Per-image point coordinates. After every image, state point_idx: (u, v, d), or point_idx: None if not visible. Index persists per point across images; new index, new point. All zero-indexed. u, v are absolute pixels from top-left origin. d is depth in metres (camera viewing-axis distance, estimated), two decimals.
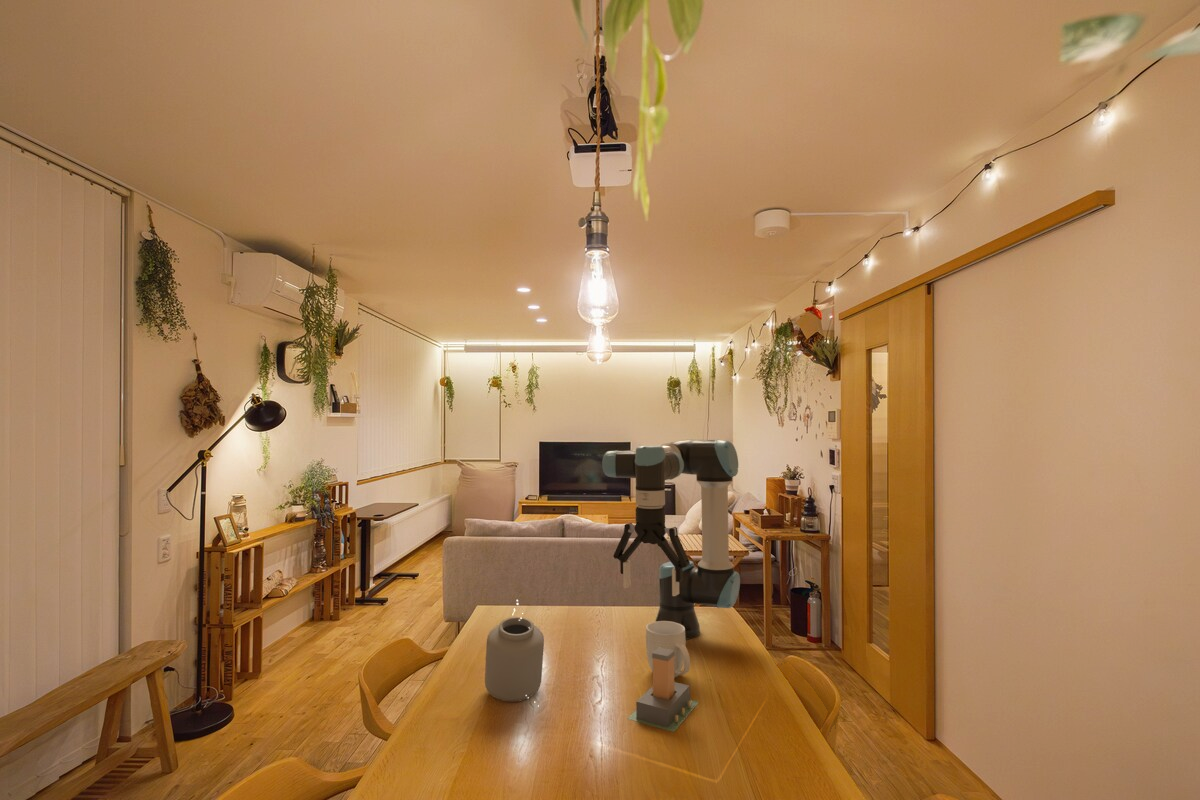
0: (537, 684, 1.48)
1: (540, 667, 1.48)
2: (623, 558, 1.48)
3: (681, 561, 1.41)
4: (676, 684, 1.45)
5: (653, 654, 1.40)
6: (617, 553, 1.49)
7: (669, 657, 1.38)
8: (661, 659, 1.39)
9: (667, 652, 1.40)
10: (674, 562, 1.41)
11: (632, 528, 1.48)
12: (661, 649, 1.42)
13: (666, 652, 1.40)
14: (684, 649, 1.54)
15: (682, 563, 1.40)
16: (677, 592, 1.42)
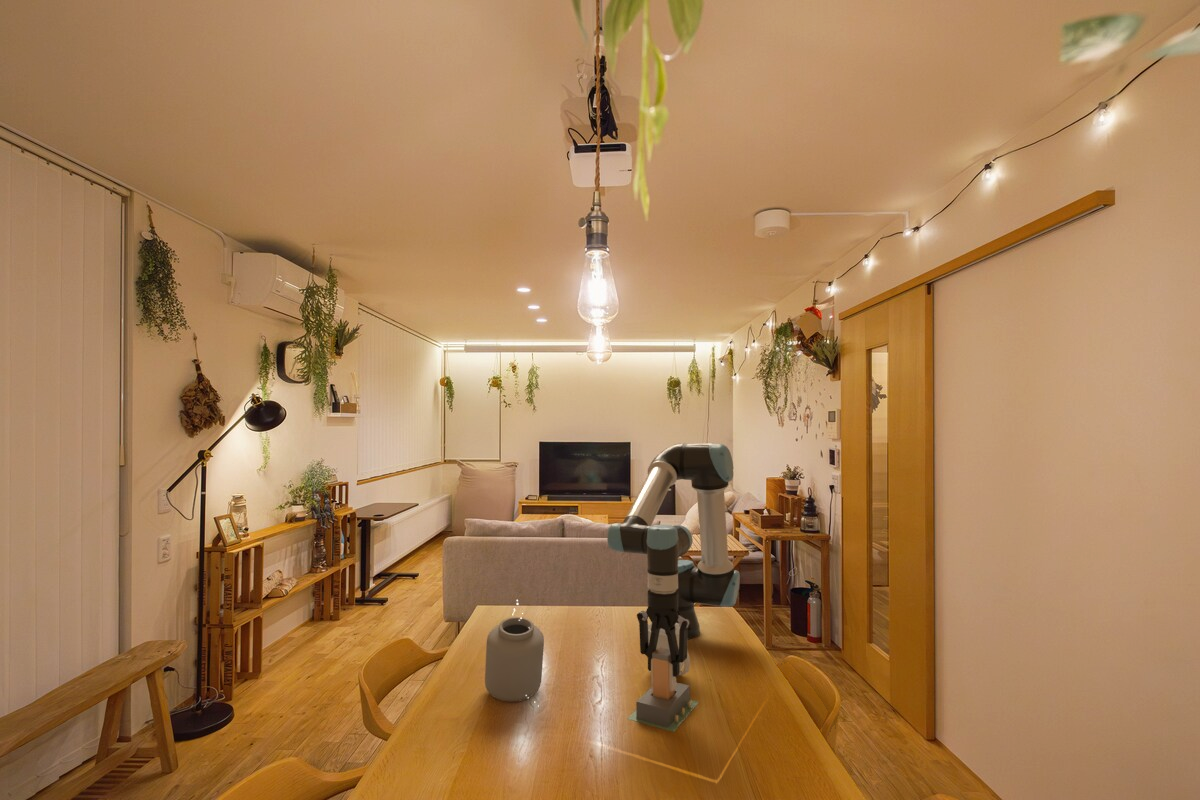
0: (537, 684, 1.48)
1: (540, 667, 1.48)
2: (650, 653, 1.41)
3: (680, 655, 1.37)
4: (676, 684, 1.45)
5: (653, 654, 1.40)
6: (643, 647, 1.42)
7: (669, 657, 1.38)
8: (661, 659, 1.39)
9: (667, 652, 1.40)
10: (673, 656, 1.38)
11: (645, 615, 1.43)
12: (661, 649, 1.42)
13: (666, 652, 1.40)
14: None
15: (680, 657, 1.37)
16: (674, 686, 1.39)
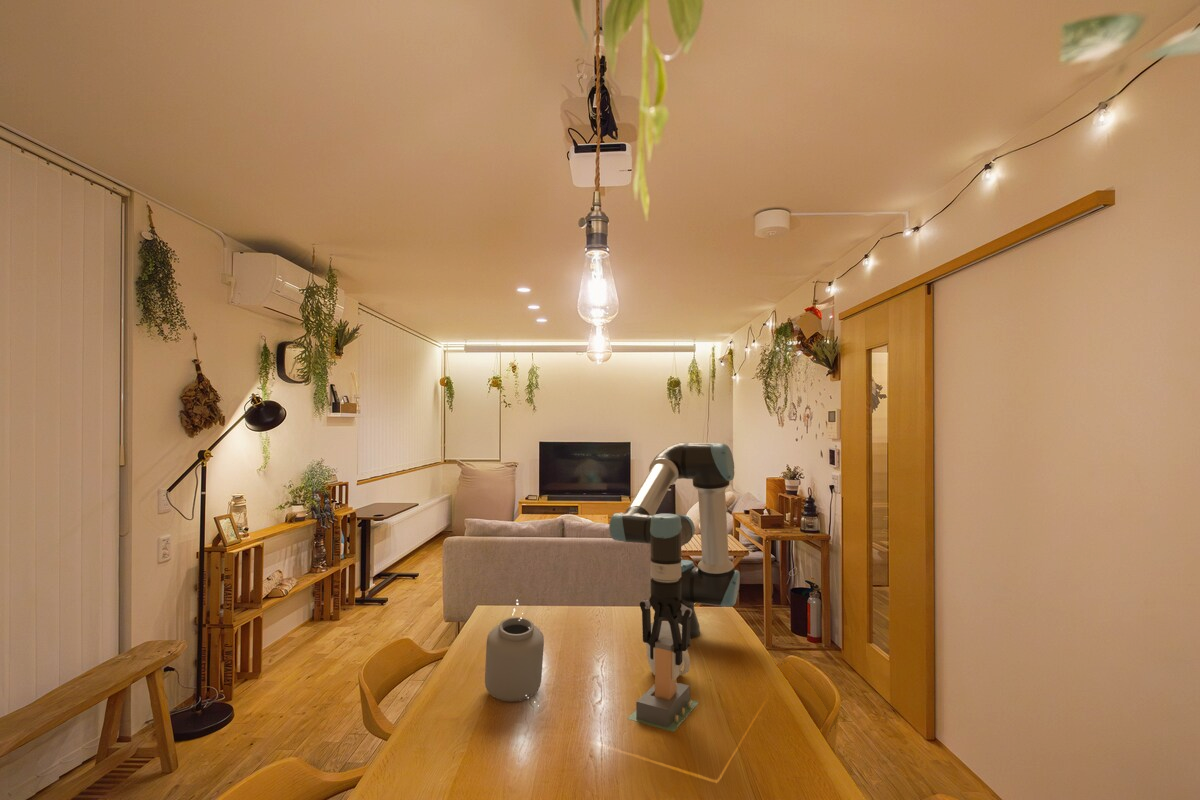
0: (537, 684, 1.48)
1: (540, 667, 1.48)
2: (652, 642, 1.41)
3: (683, 644, 1.37)
4: None
5: (656, 643, 1.39)
6: (645, 636, 1.42)
7: (672, 647, 1.38)
8: (664, 649, 1.38)
9: (670, 642, 1.40)
10: (676, 644, 1.38)
11: (648, 603, 1.43)
12: (664, 639, 1.42)
13: (669, 642, 1.40)
14: None
15: (683, 646, 1.37)
16: (677, 675, 1.39)
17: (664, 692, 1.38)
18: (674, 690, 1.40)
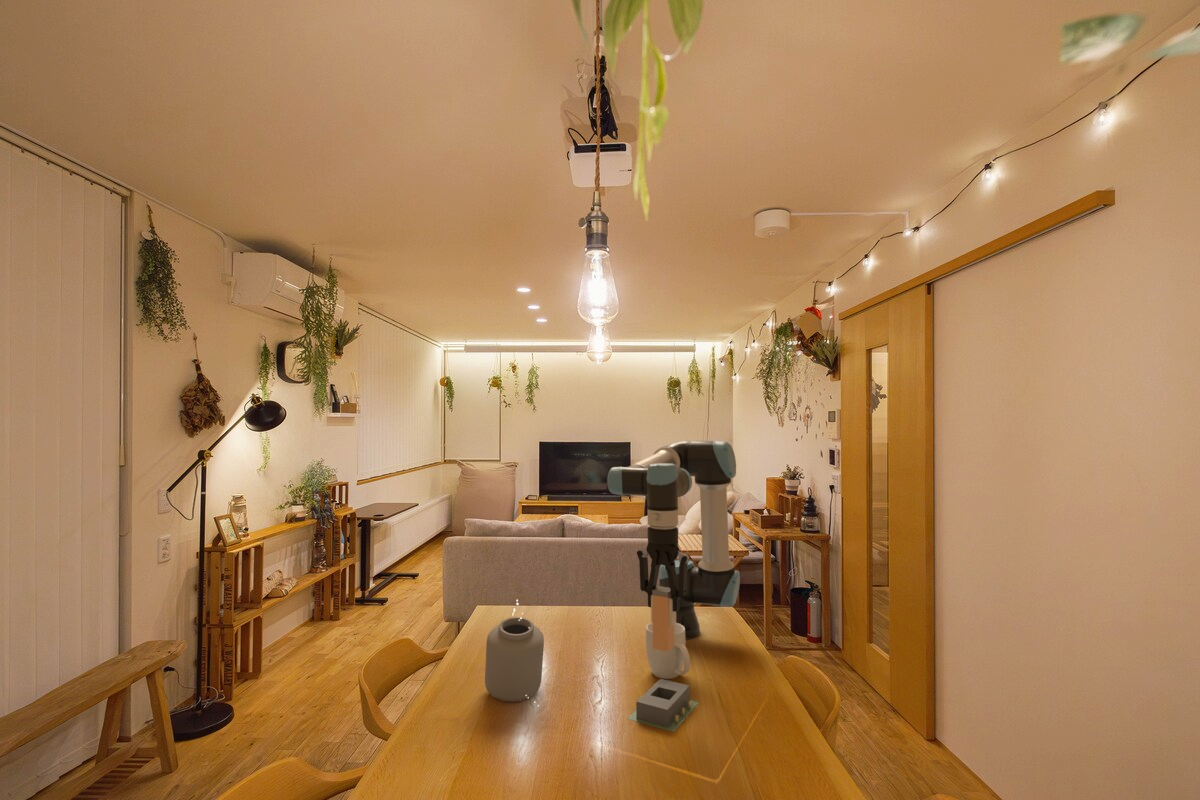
0: (537, 684, 1.48)
1: (540, 667, 1.48)
2: (650, 590, 1.42)
3: (680, 590, 1.38)
4: (676, 684, 1.45)
5: (653, 591, 1.40)
6: (643, 584, 1.43)
7: (669, 594, 1.39)
8: (661, 596, 1.39)
9: (667, 589, 1.41)
10: (673, 591, 1.39)
11: (645, 552, 1.43)
12: (661, 587, 1.43)
13: (666, 590, 1.40)
14: (684, 649, 1.54)
15: (680, 592, 1.38)
16: (674, 622, 1.40)
17: (662, 639, 1.39)
18: (672, 638, 1.40)
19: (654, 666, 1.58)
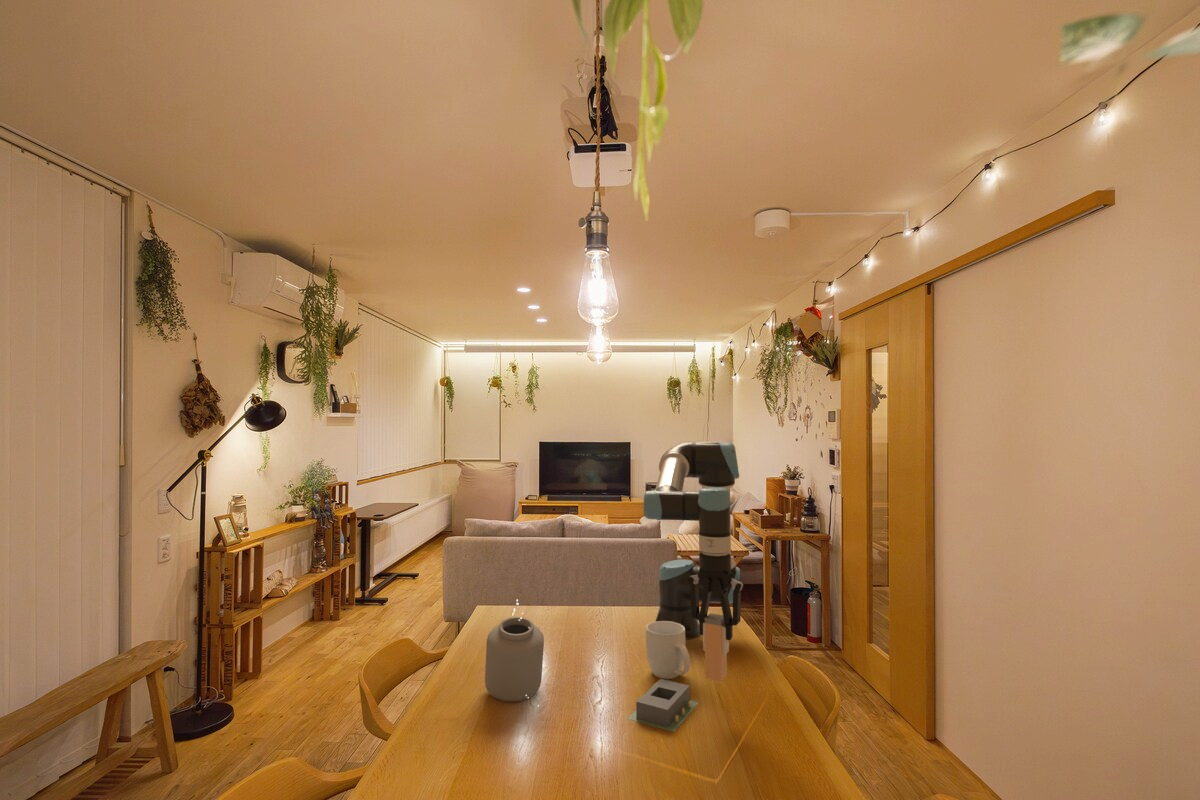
0: (537, 684, 1.48)
1: (540, 667, 1.48)
2: (702, 617, 1.39)
3: (734, 618, 1.35)
4: (676, 684, 1.45)
5: (705, 619, 1.37)
6: (694, 611, 1.40)
7: (722, 622, 1.36)
8: (714, 624, 1.36)
9: (719, 617, 1.38)
10: (726, 619, 1.36)
11: (696, 578, 1.41)
12: (713, 615, 1.40)
13: (719, 617, 1.38)
14: (684, 649, 1.54)
15: (734, 620, 1.35)
16: (727, 650, 1.37)
17: (715, 669, 1.36)
18: (725, 667, 1.38)
19: (654, 666, 1.58)
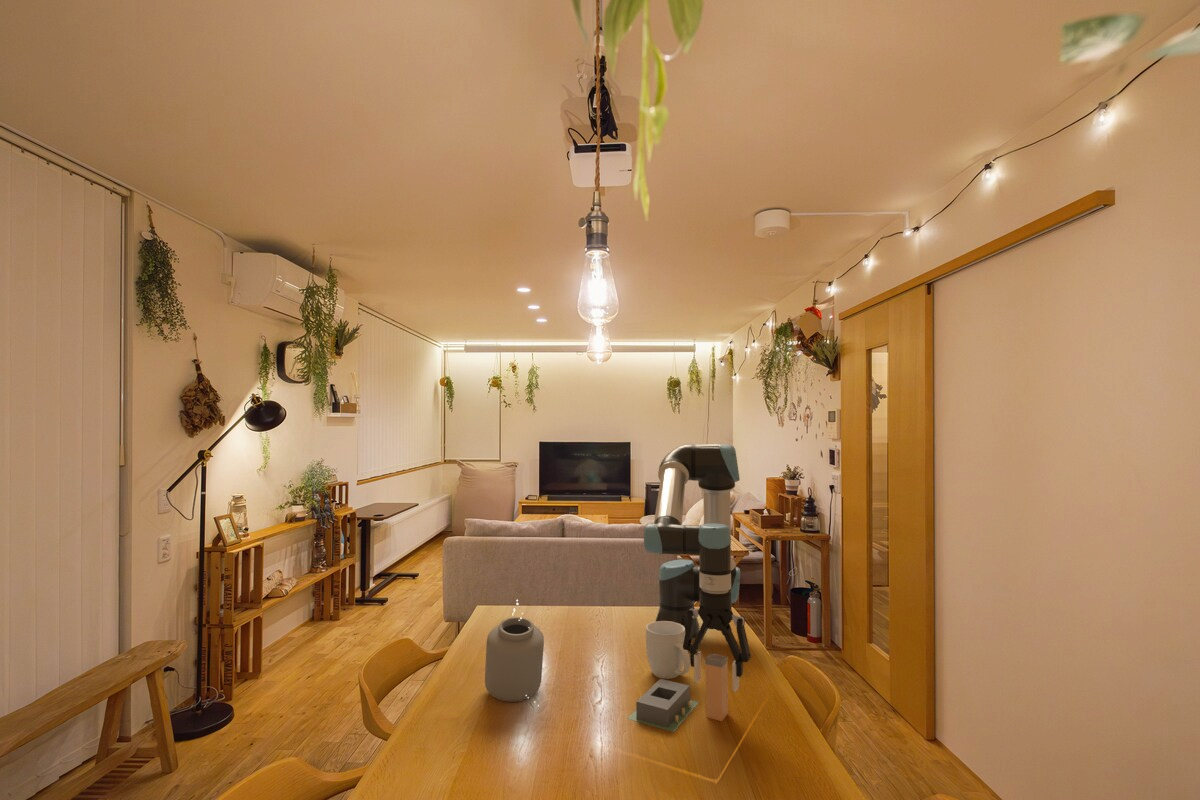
0: (537, 684, 1.48)
1: (540, 667, 1.48)
2: (693, 649, 1.40)
3: (743, 655, 1.34)
4: (676, 684, 1.45)
5: (706, 660, 1.37)
6: (686, 644, 1.41)
7: (722, 663, 1.36)
8: (714, 665, 1.36)
9: (720, 658, 1.38)
10: (736, 655, 1.34)
11: (696, 613, 1.40)
12: (713, 655, 1.39)
13: (720, 658, 1.37)
14: None
15: (744, 657, 1.33)
16: (737, 687, 1.35)
17: (716, 710, 1.36)
18: (726, 708, 1.37)
19: (654, 666, 1.58)
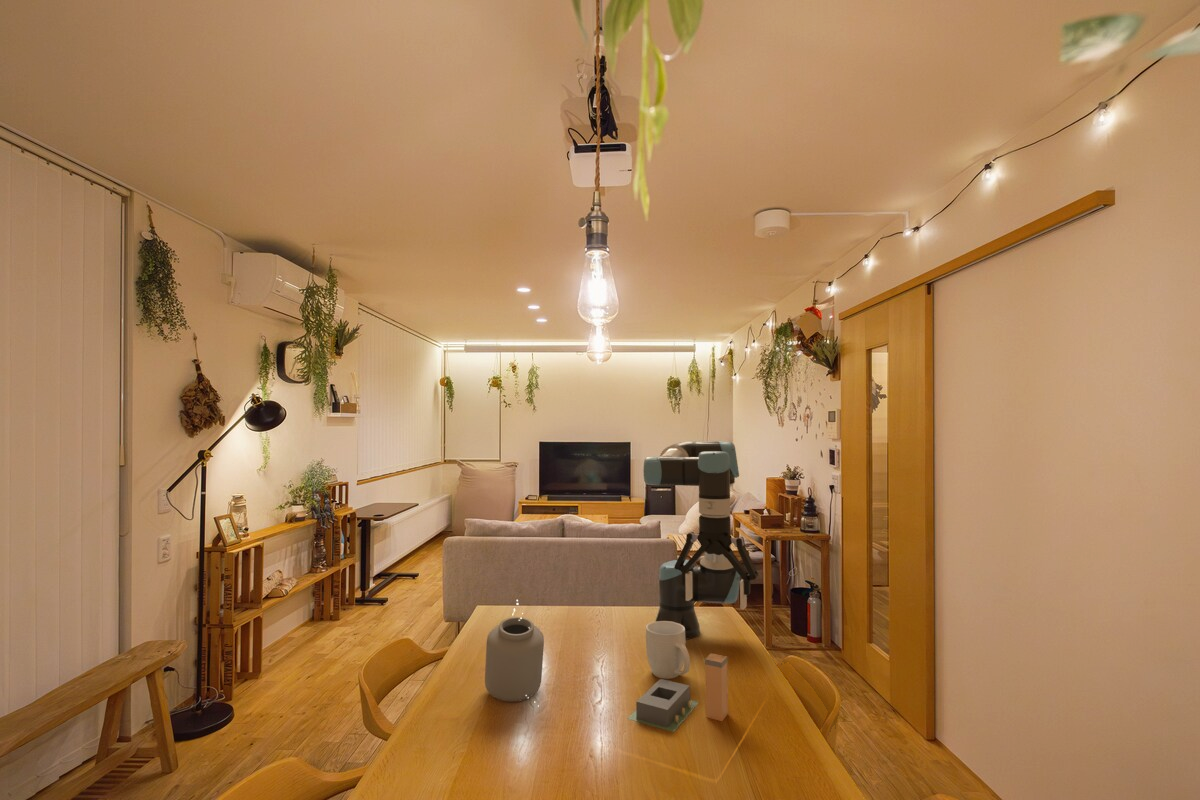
0: (537, 684, 1.48)
1: (540, 667, 1.48)
2: (685, 569, 1.42)
3: (750, 573, 1.34)
4: (676, 684, 1.45)
5: (706, 660, 1.37)
6: (678, 564, 1.43)
7: (722, 663, 1.36)
8: (714, 666, 1.36)
9: (720, 658, 1.38)
10: (742, 574, 1.35)
11: (695, 538, 1.42)
12: (713, 655, 1.39)
13: (719, 659, 1.37)
14: (684, 649, 1.54)
15: (751, 575, 1.34)
16: (745, 605, 1.36)
17: (716, 710, 1.36)
18: (726, 708, 1.37)
19: (654, 666, 1.58)
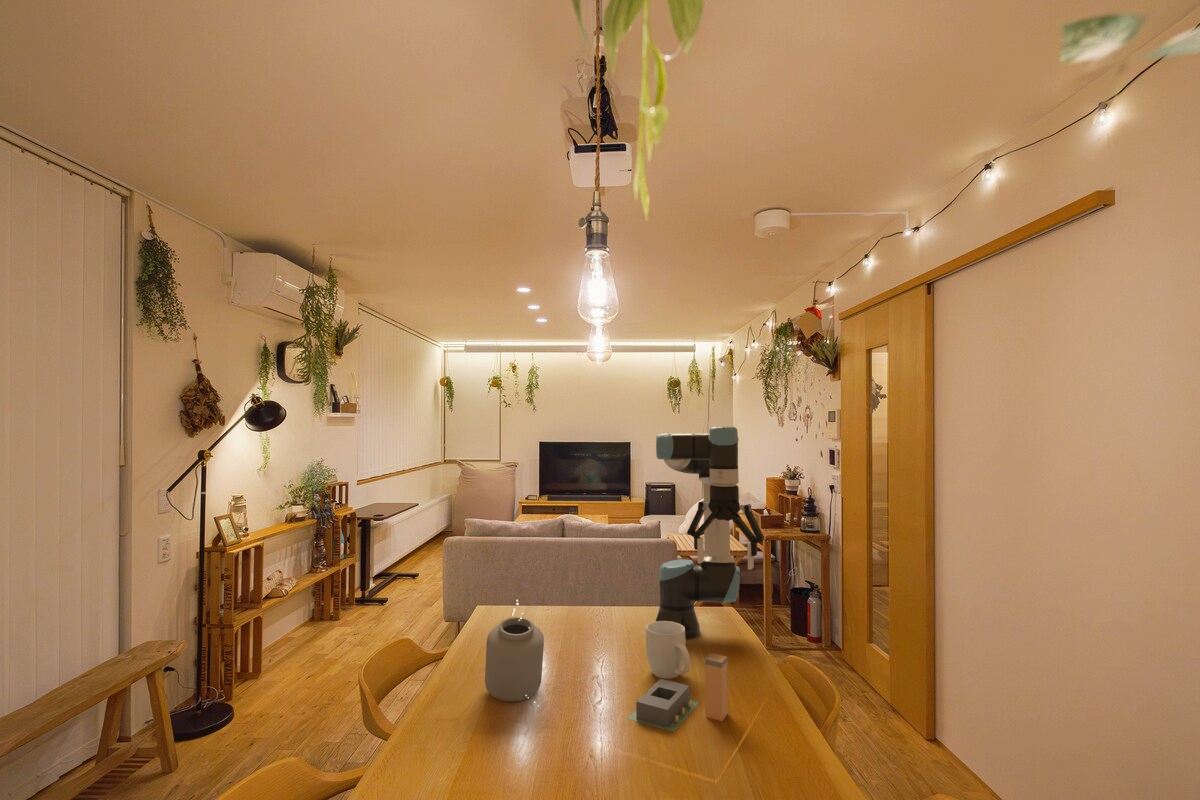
0: (537, 684, 1.48)
1: (540, 667, 1.48)
2: (697, 534, 1.55)
3: (757, 536, 1.47)
4: (676, 684, 1.45)
5: (706, 660, 1.37)
6: (691, 530, 1.56)
7: (722, 663, 1.36)
8: (714, 666, 1.36)
9: (720, 658, 1.38)
10: (749, 537, 1.48)
11: (706, 506, 1.55)
12: (713, 655, 1.39)
13: (719, 659, 1.37)
14: (684, 649, 1.54)
15: (758, 538, 1.47)
16: (752, 566, 1.49)
17: (716, 710, 1.36)
18: (726, 708, 1.37)
19: (654, 666, 1.58)
